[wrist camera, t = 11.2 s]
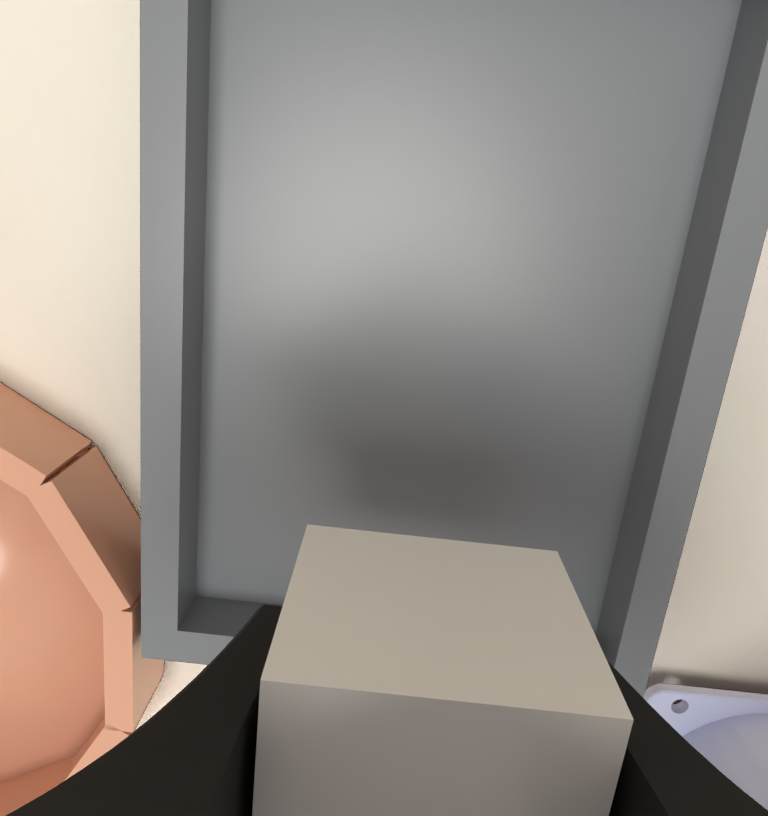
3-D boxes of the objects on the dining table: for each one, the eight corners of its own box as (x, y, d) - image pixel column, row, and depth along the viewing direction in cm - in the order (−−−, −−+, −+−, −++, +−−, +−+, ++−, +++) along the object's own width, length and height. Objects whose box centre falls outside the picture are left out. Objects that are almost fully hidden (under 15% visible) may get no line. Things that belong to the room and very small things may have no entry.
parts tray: (779, -37, 15) (848, -82, 13) (612, 653, 21) (640, 710, 18) (180, -105, 15) (139, -162, 13) (170, 605, 21) (141, 657, 18)
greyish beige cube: (556, 551, 12) (633, 719, 8) (516, 752, 13) (564, 982, 9) (307, 524, 12) (259, 680, 8) (291, 729, 13) (243, 949, 9)
